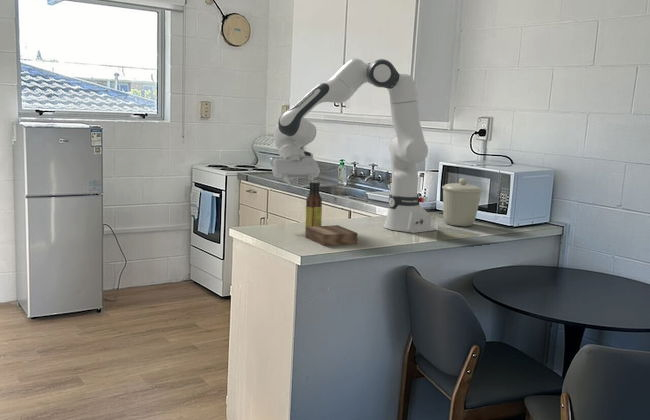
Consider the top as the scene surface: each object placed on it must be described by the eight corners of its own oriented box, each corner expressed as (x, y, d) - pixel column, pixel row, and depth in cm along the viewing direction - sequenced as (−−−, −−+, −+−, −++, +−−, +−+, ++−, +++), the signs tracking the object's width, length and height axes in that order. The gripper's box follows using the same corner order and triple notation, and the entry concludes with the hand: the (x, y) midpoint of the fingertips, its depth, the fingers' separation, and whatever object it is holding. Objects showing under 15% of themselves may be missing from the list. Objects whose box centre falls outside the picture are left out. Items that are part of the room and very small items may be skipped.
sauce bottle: (321, 231, 253) (325, 181, 249) (319, 234, 246) (323, 183, 243) (305, 230, 253) (308, 180, 250) (303, 233, 247) (306, 182, 244)
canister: (429, 221, 291) (434, 175, 287) (456, 219, 302) (461, 175, 298) (460, 229, 277) (465, 181, 273) (487, 227, 287) (492, 180, 284)
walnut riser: (337, 235, 247) (337, 225, 247) (356, 243, 236) (357, 233, 235) (305, 237, 240) (305, 226, 240) (323, 245, 229) (324, 234, 228)
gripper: (271, 152, 256) (280, 180, 249) (315, 153, 266) (326, 180, 260) (265, 162, 260) (275, 189, 254) (310, 162, 271) (319, 189, 264)
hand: (301, 184), depth 257 cm, fingers open, 8 cm apart
